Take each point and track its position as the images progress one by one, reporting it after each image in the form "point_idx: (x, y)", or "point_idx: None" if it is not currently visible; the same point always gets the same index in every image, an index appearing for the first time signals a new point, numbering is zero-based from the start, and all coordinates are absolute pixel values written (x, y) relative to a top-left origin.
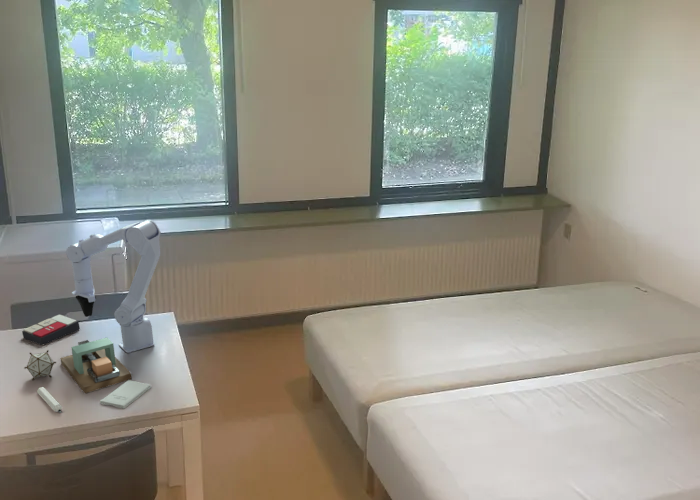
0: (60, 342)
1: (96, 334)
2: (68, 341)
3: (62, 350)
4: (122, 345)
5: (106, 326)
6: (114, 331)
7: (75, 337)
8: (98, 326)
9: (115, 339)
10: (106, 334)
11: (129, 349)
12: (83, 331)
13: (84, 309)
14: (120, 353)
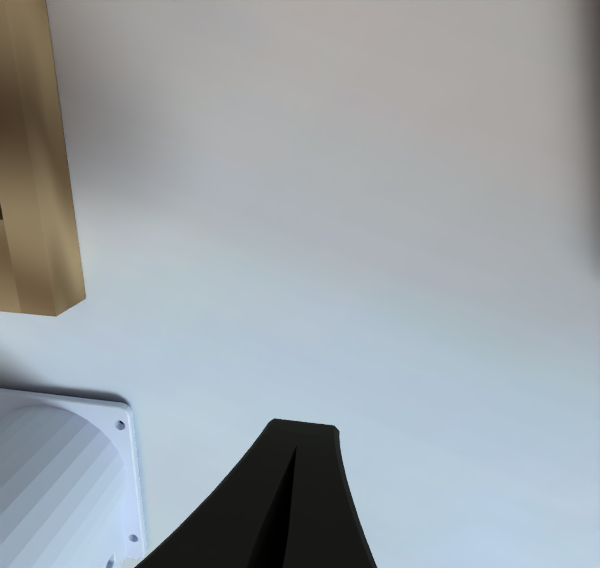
0: (524, 57)
1: (435, 373)
2: (482, 134)
3: (316, 12)
4: (82, 413)
5: (526, 485)
6: (385, 480)
7: (520, 220)
8: (583, 447)
9: (243, 427)
10: (375, 423)
11: (1, 416)
12: (592, 323)
13: (191, 530)
14: (5, 356)
